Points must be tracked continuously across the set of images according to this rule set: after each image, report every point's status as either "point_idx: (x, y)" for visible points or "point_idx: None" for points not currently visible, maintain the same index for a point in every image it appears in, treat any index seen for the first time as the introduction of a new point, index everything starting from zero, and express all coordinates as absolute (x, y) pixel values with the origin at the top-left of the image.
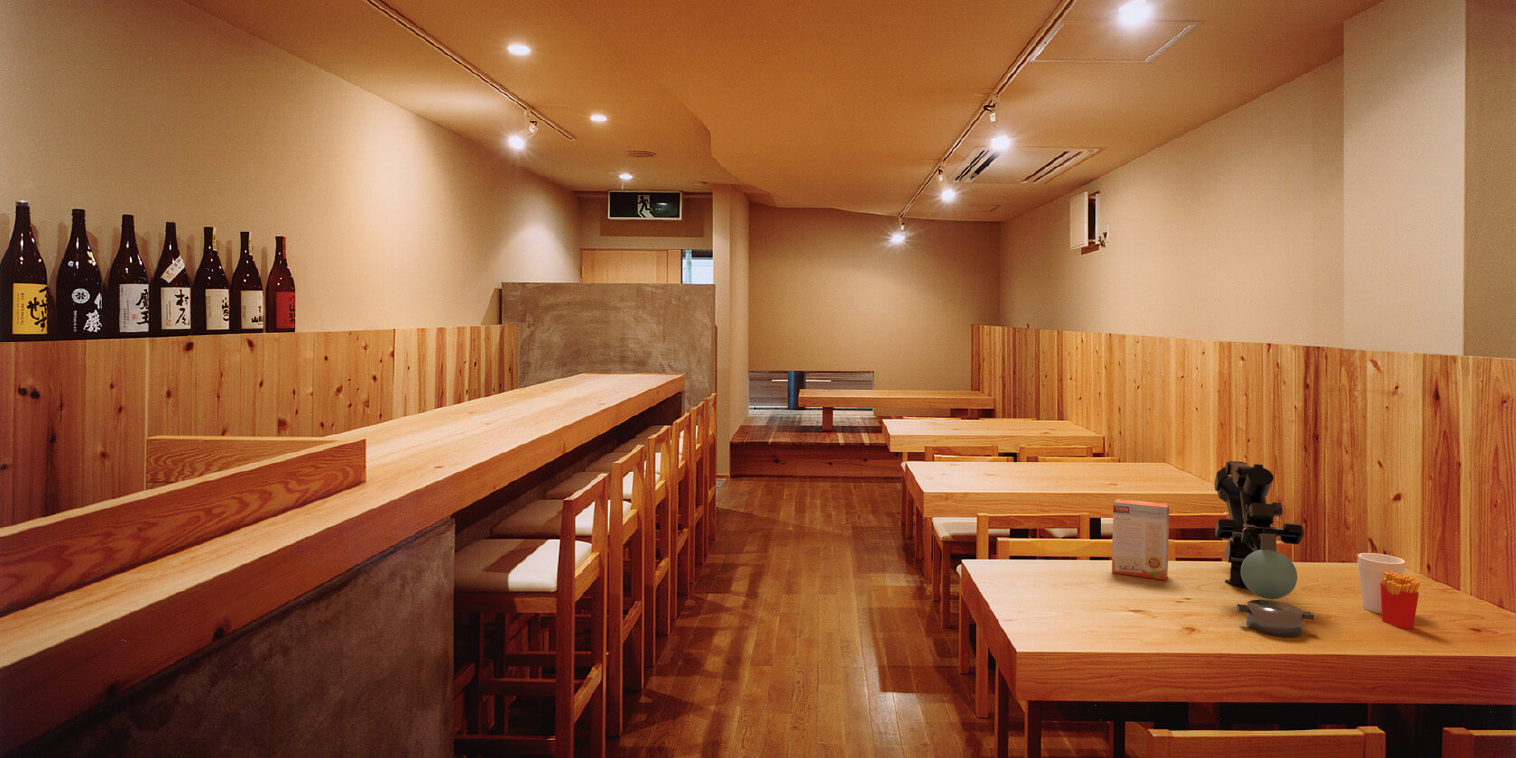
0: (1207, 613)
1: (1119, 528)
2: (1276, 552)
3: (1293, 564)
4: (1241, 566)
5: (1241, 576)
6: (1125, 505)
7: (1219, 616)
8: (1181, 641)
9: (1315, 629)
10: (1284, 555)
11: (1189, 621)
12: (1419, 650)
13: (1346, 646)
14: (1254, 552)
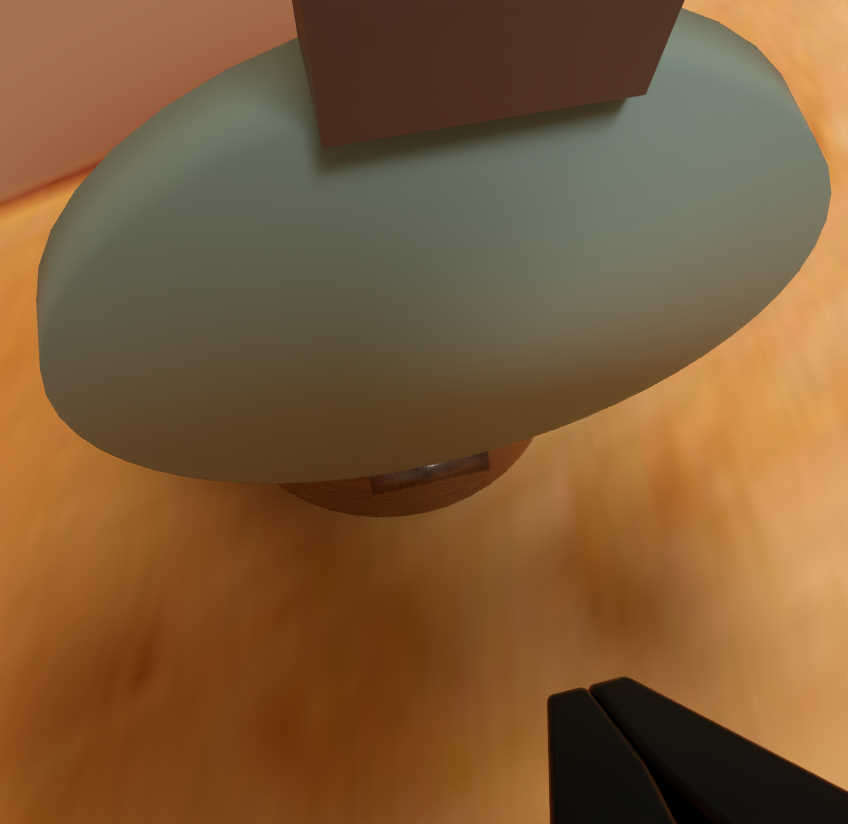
0: (820, 436)
1: None
2: (298, 60)
3: (40, 266)
4: (804, 246)
5: (737, 322)
6: None
7: (732, 417)
8: (752, 10)
9: (121, 496)
10: (140, 133)
11: (839, 238)
12: None
13: (19, 287)
14: (729, 31)
